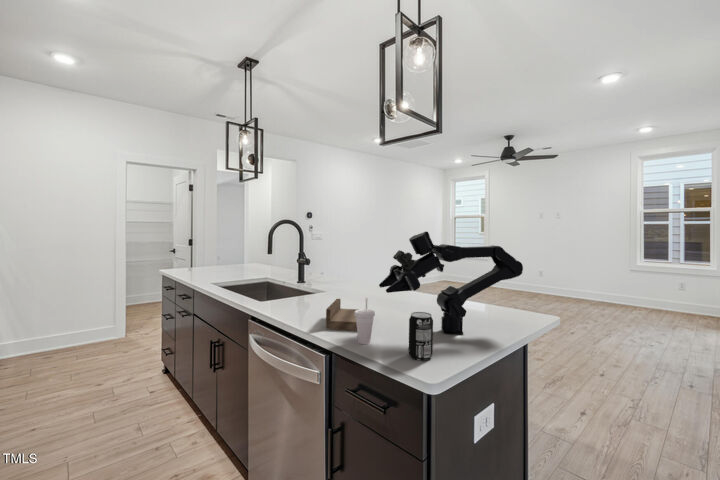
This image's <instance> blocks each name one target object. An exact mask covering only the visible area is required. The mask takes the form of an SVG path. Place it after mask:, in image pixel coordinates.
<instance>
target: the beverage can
mask: <svg viewBox="0 0 720 480" xmlns="http://www.w3.org/2000/svg"><path fill="white" fill-rule="evenodd" d="M433 337H434V319H433V318H432V314H431V313H429V312H426V311H414V312H413V311H412V312H411V314H410V317H409V318H408V355H409V356H410V358H411V359H413V360H416V361H428V360H430V359H431V358H432V356H433V350H434V349H433V348H434V347H433V345H434V343H433V340H434V338H433Z"/></svg>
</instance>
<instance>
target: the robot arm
mask: <svg viewBox="0 0 720 480" xmlns="http://www.w3.org/2000/svg"><path fill="white" fill-rule="evenodd" d="M408 241H409V243H410V244H411V247H412V249H413V251H414V253H415V255H419V256H420V257H419V258H418V259H413V254H412V253H410V252H404V251H403V250H397V252H396V253H395V254H394V255H393V256H392V258H393V259H394V260H396V261H397V262H398V263H399V264H400V265H397V264H393V265H392V266H390V268H389V274H387V276H386V277H385V278H384V279H383V280H382V281H381V282H380V283H379V284H378V286H379V288H386V289H385V293H388V294H389V293H397V292H398V293H399V292H411V291H414V292H415V291H417V290H418V289H420V288H421V282H420V280H419V279H421V278H425V277H427V274H429V273H430V272H433V271H434V270H435V269H436V271H438V272H440V273H444V267H445V264H444V263H442V262H447V263H453V262H457V261H461V260H464V259H472V258H473V259H474V258H491V259H492V262H493V264H494V266H493V267H492V269H491V270H490V271H488V272H486V273H484V274H482V275H479V276H478V277H477V278H475V279H473V280H472V281H469V282H467V283H466V284H464V285H461V286H460V287H458V288H457V287H454V286H452V285H449V286H448V287H447V288H445V289H442V290H441V289H440V293H438V294H437V297H436V304H437V305H438V307H439V308H440V310H441V312H443V314H442V315H443V316H441V319H440V320H441V322H440V323H441V330H442V333H444V334H447V335H448V334H449V335H450V334H451V335H464V332H463V324H464V323H463V322H464V319H463V318H464V317H466V315H467V310H466V308H465V307H464V304H465V303H466V301H467V300H468V299H470V298H472V297H473V296H476V295H477V294H479V293H481V292H483V291H484V290H486V289H488V288H490V287H492V286H493V285H495V284H497V283H499V282H501V281H506V280H512V279H515V278H517V277H519V276H521V275H522V274H523V271H524V266H523V263H522V262H521V261H519V260H517V259H516V258H515V257H514V256H513V255H511V254H510V253H508V252H507V251H506V250H505V249H504V248H503V247H501V246H499V245H488V246H483V245H481V246H459V245H452V244H451V245H450V244H443V243H442V244H440V245H438V244H434V243H433V241H432V239H431V237H430V233H429V231H423V232H421V233H418V234H415V235H413V236H411V237H410V238H409V240H408ZM441 261H442V262H441Z"/></svg>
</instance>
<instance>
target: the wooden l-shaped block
mask: <svg viewBox="0 0 720 480" xmlns="http://www.w3.org/2000/svg"><path fill="white" fill-rule="evenodd" d="M356 310H360V309H359V308H358V309H355V308H341V298H336V299H334V300H333V302H332V303H330V305H329V306H328V307H326V309H325V330H335V331H336V330H338V331H356V332H357V324H356V316H355V315H354V314H355V311H356Z"/></svg>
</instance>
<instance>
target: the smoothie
mask: <svg viewBox="0 0 720 480" xmlns="http://www.w3.org/2000/svg"><path fill="white" fill-rule="evenodd" d="M375 313H376V312H375V311H374V310H373V309H369V308H368V297H366V298H365V308H363V309H360V310H356V311H355V314H354V315H355V316H356V324H357V331H356V333H357V341H358V344H360V345H368V344H370V343H371V340H372V331H373V323H374V316H375Z"/></svg>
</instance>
